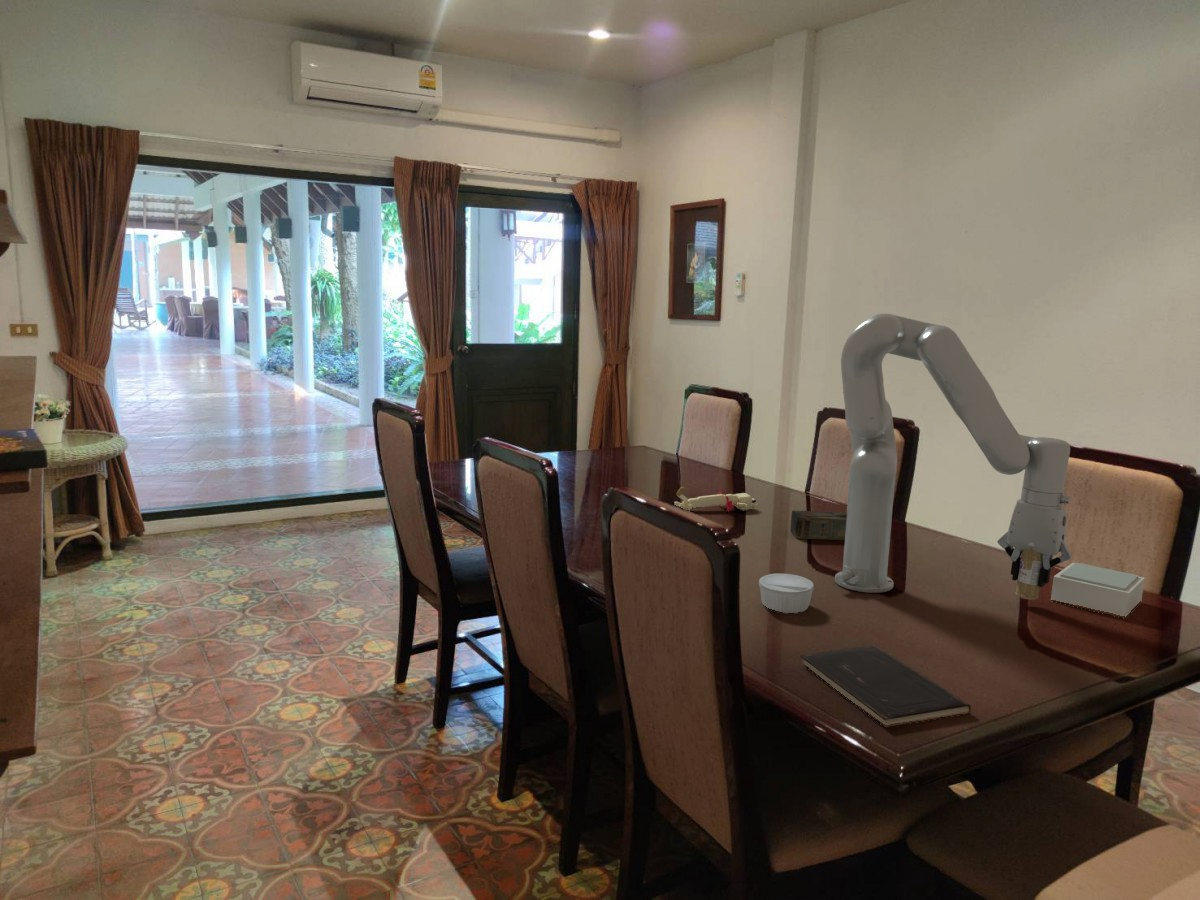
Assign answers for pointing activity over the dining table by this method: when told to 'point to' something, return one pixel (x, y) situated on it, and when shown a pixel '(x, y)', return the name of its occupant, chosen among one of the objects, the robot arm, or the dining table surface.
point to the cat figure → (717, 501)
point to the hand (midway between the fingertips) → (1028, 581)
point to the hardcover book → (884, 685)
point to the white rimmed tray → (1098, 588)
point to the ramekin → (786, 592)
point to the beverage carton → (818, 525)
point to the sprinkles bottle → (1029, 574)
